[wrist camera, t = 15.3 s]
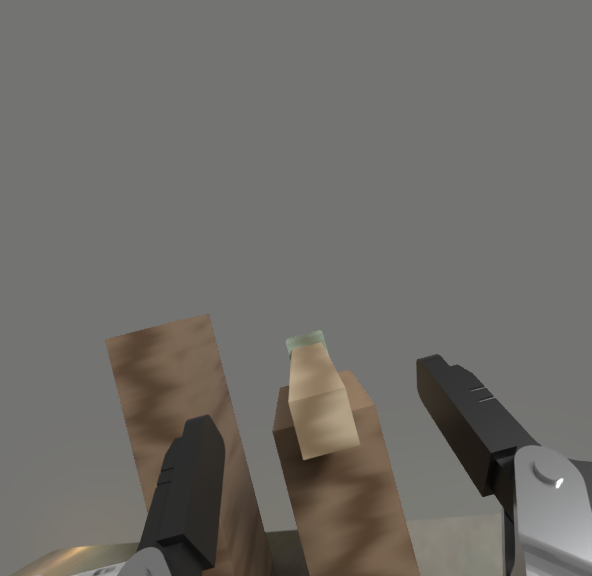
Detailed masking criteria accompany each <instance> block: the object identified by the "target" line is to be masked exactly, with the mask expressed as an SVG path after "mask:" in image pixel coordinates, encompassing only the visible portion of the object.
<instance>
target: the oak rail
mask: <svg viewBox="0 0 592 576" xmlns="http://www.w3.org/2000/svg"><path fill="white" fill-rule="evenodd" d="M286 345H287V348H288V351H289V356H290V360H291V370H290V385H289V400H288V403H289V407H290V411H291V415H292V419H293V422H294V426H295V430H296V434H297V438H298V442H299V445H300V449H301V453H302V457H303V460H306V459H310V458H313V457H317V456H321V455H325V454H328V453H332V452H336V451H340V450H343V449H347V448H351V447H355V446H358V445H360V441H359V437H358V434H357V430H356V426H355V422H354V419H353V415H352V411H351V407H350V403H349V400H348V396H347V392H346V388H345V386H344V384H343V382H342V380H341V378H340V377H339V375H338V373H337V371H336V369H335V367H334V365H333V363H332V362H331V360H330V358H329V355H328V351H327V347H326V344H325V340H324V336H323V333H322V332H321V330H319V331H316V332H312V333H308V334H304V335H300V336H297V337H293V338H289V339H287V341H286Z"/></svg>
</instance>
